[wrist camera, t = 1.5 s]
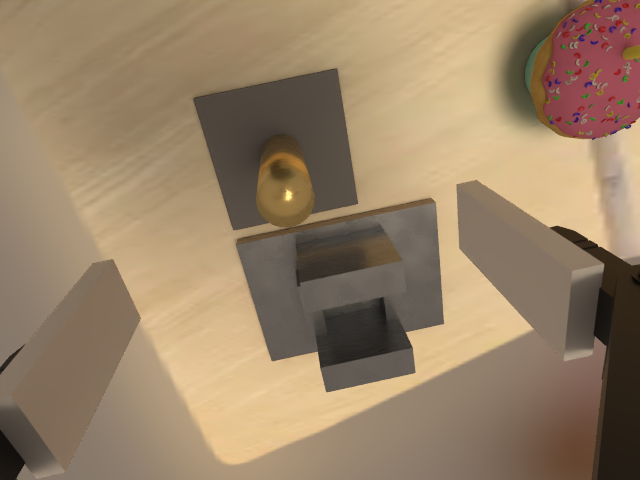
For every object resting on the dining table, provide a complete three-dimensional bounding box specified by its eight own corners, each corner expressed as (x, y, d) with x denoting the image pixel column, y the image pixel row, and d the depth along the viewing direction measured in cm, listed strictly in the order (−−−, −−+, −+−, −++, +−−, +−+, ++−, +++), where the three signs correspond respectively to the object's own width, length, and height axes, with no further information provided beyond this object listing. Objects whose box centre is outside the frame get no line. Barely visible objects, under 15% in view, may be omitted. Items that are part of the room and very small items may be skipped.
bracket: (237, 239, 33) (228, 284, 27) (431, 198, 33) (468, 233, 27) (271, 354, 38) (271, 414, 32) (439, 317, 38) (472, 370, 32)
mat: (194, 98, 28) (193, 98, 28) (336, 68, 28) (337, 68, 28) (233, 228, 33) (233, 230, 32) (357, 202, 33) (358, 203, 32)
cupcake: (485, 41, 29) (613, 36, 18) (601, -26, 28) (811, -74, 17) (519, 148, 32) (644, 197, 22) (623, 91, 31) (809, 114, 20)
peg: (256, 139, 30) (249, 178, 20) (297, 130, 30) (308, 166, 21) (266, 178, 31) (264, 232, 22) (305, 170, 31) (319, 220, 22)
